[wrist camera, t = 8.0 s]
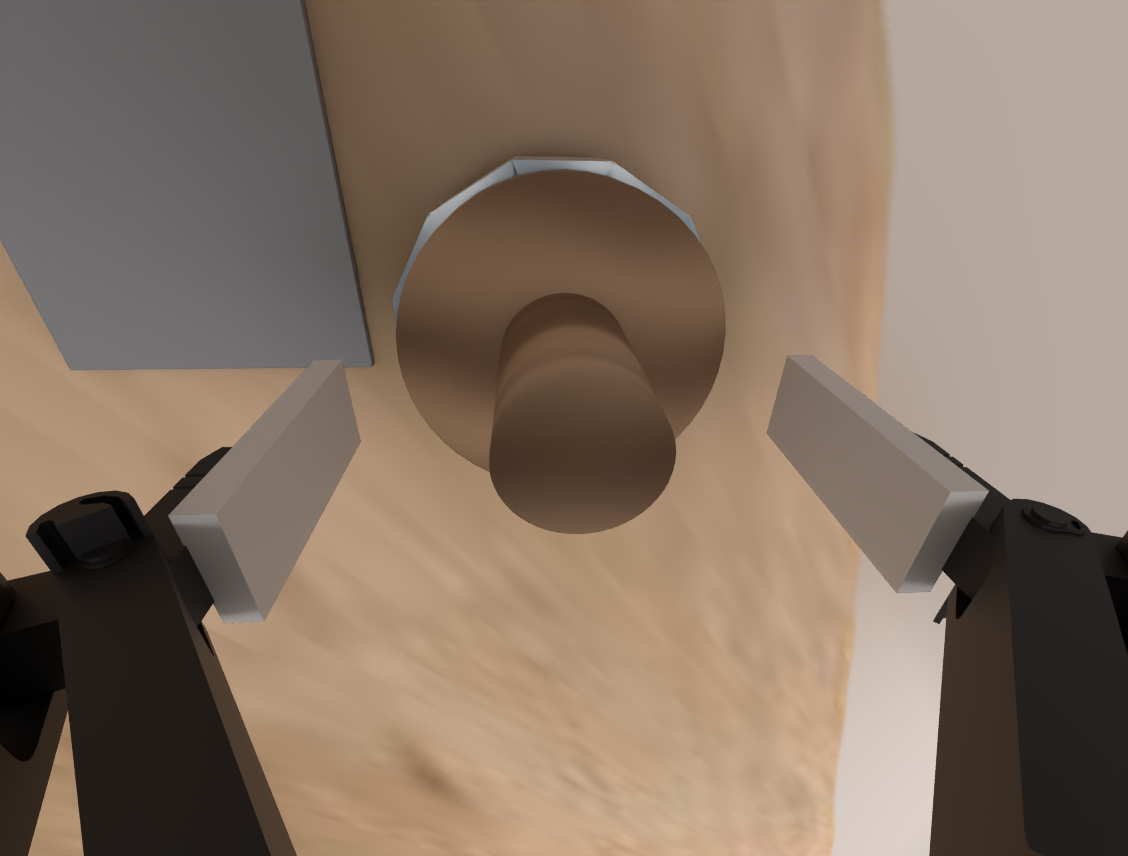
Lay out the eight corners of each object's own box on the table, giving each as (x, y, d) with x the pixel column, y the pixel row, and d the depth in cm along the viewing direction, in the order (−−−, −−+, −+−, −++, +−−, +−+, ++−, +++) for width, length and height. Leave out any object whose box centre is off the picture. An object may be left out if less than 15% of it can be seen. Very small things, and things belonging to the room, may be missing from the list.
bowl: (402, 153, 20) (368, 157, 16) (701, 158, 21) (746, 163, 17) (437, 419, 26) (420, 473, 22) (665, 414, 27) (691, 466, 23)
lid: (379, 166, 16) (256, 190, 9) (739, 171, 17) (905, 198, 9) (426, 469, 22) (376, 633, 15) (688, 462, 23) (764, 615, 15)
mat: (-126, -18, 16) (-140, -21, 16) (303, -2, 17) (299, -4, 17) (76, 366, 24) (70, 370, 23) (374, 363, 25) (372, 366, 24)
